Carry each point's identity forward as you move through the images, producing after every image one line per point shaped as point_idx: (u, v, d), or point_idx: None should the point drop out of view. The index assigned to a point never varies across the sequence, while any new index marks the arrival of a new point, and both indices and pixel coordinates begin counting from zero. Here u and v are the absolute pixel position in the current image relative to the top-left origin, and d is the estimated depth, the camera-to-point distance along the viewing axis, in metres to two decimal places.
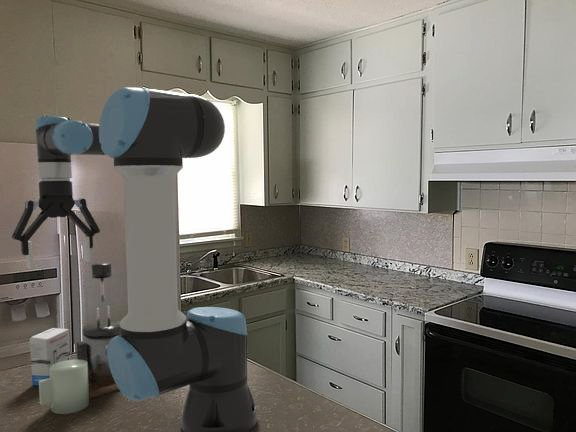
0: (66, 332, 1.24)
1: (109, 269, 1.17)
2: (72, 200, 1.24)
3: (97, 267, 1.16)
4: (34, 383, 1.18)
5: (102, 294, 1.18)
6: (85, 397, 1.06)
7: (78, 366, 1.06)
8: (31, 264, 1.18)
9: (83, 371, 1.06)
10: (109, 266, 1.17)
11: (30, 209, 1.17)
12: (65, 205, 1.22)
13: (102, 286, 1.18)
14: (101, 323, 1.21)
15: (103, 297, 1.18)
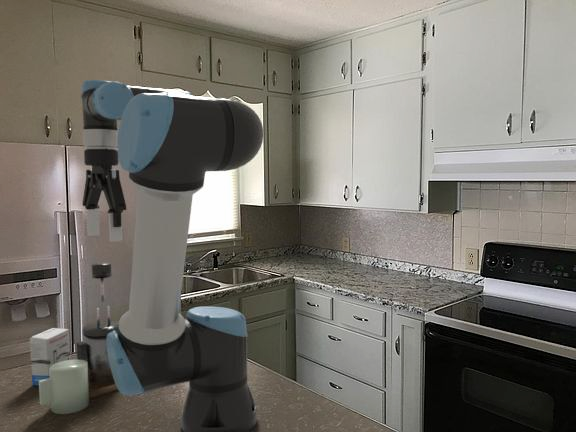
0: (66, 332, 1.24)
1: (109, 269, 1.17)
2: (103, 170, 1.13)
3: (97, 267, 1.16)
4: (34, 383, 1.18)
5: (102, 294, 1.18)
6: (85, 397, 1.06)
7: (78, 366, 1.06)
8: (87, 231, 1.22)
9: (83, 371, 1.06)
10: (109, 266, 1.17)
11: (87, 178, 1.20)
12: (96, 175, 1.14)
13: (102, 286, 1.18)
14: (101, 323, 1.21)
15: (103, 297, 1.18)
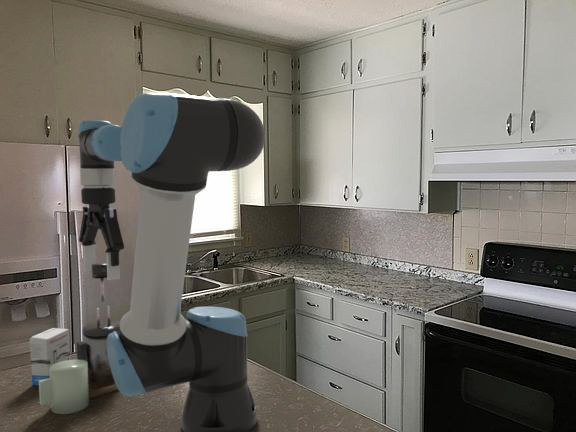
0: (66, 332, 1.24)
1: None
2: (100, 209, 1.14)
3: (97, 267, 1.16)
4: (34, 383, 1.18)
5: (102, 294, 1.18)
6: (85, 397, 1.06)
7: (78, 366, 1.06)
8: (84, 267, 1.22)
9: (83, 371, 1.06)
10: None
11: (83, 215, 1.21)
12: (93, 214, 1.15)
13: (102, 286, 1.18)
14: (101, 323, 1.21)
15: (103, 297, 1.18)
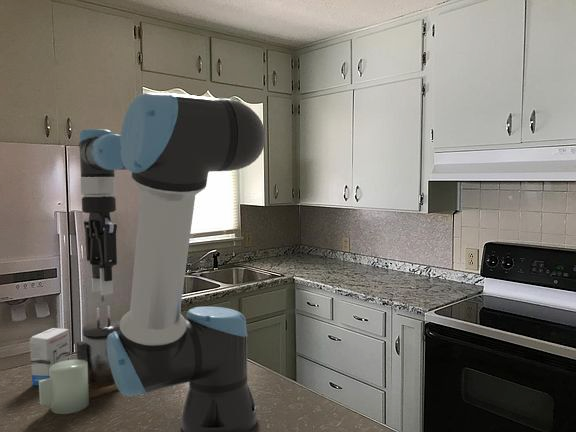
0: (66, 332, 1.24)
1: None
2: (101, 219, 1.13)
3: (97, 267, 1.16)
4: (34, 383, 1.18)
5: None
6: (85, 397, 1.06)
7: (78, 366, 1.06)
8: (92, 287, 1.19)
9: (83, 371, 1.06)
10: None
11: (86, 229, 1.20)
12: (94, 223, 1.15)
13: None
14: (101, 323, 1.21)
15: (103, 297, 1.18)
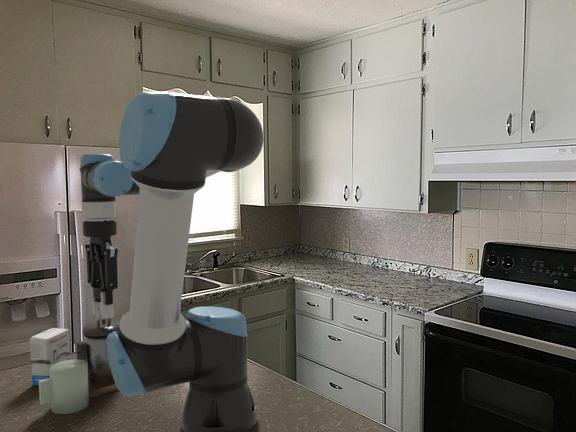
0: (66, 332, 1.24)
1: None
2: (102, 244, 1.14)
3: (98, 291, 1.16)
4: (34, 383, 1.18)
5: None
6: (85, 397, 1.06)
7: (78, 366, 1.06)
8: (93, 310, 1.20)
9: (83, 371, 1.06)
10: None
11: (87, 252, 1.21)
12: (95, 247, 1.15)
13: None
14: (101, 323, 1.21)
15: (104, 320, 1.19)
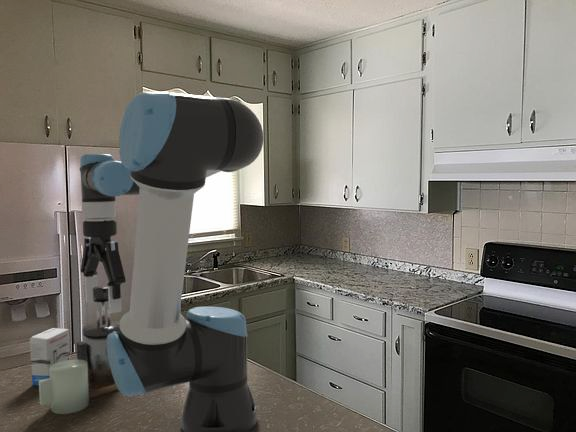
0: (66, 332, 1.24)
1: None
2: (102, 242, 1.14)
3: (98, 291, 1.16)
4: (34, 383, 1.18)
5: (103, 317, 1.18)
6: (85, 397, 1.06)
7: (78, 366, 1.06)
8: (86, 298, 1.22)
9: (83, 371, 1.06)
10: None
11: (85, 246, 1.21)
12: (95, 247, 1.15)
13: (103, 309, 1.18)
14: (101, 323, 1.21)
15: (104, 320, 1.19)
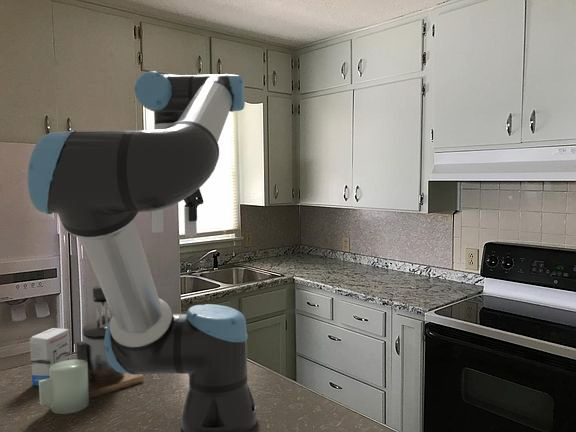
0: (66, 332, 1.24)
1: None
2: None
3: (98, 291, 1.16)
4: (34, 383, 1.18)
5: (103, 317, 1.18)
6: (85, 397, 1.06)
7: (78, 366, 1.06)
8: (152, 228, 1.20)
9: (83, 371, 1.06)
10: None
11: None
12: None
13: (103, 309, 1.18)
14: (101, 323, 1.21)
15: (104, 320, 1.19)
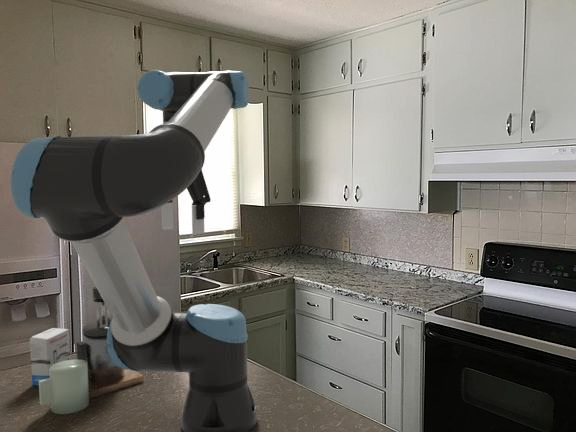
0: (66, 332, 1.24)
1: None
2: None
3: (98, 291, 1.16)
4: (34, 383, 1.18)
5: (103, 317, 1.18)
6: (85, 397, 1.06)
7: (78, 366, 1.06)
8: (162, 225, 1.21)
9: (83, 371, 1.06)
10: None
11: None
12: None
13: (103, 309, 1.18)
14: (101, 323, 1.21)
15: (104, 320, 1.19)
